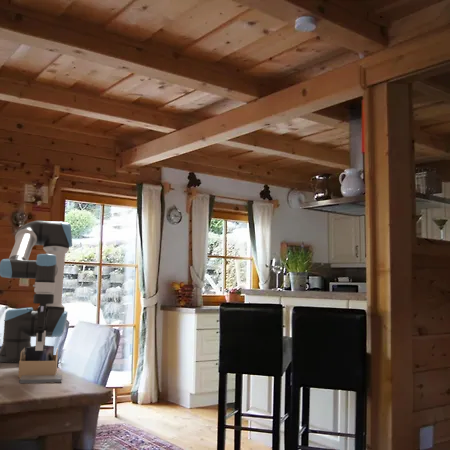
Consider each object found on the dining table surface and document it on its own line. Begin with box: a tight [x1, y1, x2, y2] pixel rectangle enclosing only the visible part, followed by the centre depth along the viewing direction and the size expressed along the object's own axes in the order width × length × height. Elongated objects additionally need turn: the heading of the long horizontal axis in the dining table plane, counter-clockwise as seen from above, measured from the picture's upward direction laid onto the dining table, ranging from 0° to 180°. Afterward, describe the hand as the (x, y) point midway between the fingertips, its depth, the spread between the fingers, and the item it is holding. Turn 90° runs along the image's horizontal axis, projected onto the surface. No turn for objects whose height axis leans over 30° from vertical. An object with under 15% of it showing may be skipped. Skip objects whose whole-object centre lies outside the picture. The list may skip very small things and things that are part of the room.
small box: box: [25, 344, 55, 361], centre depth 212 cm, size 11×6×10 cm, turn 168°
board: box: [19, 374, 63, 384], centre depth 197 cm, size 10×14×1 cm
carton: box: [17, 347, 59, 379], centre depth 212 cm, size 19×13×9 cm
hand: (40, 348), depth 212 cm, fingers open, 13 cm apart
